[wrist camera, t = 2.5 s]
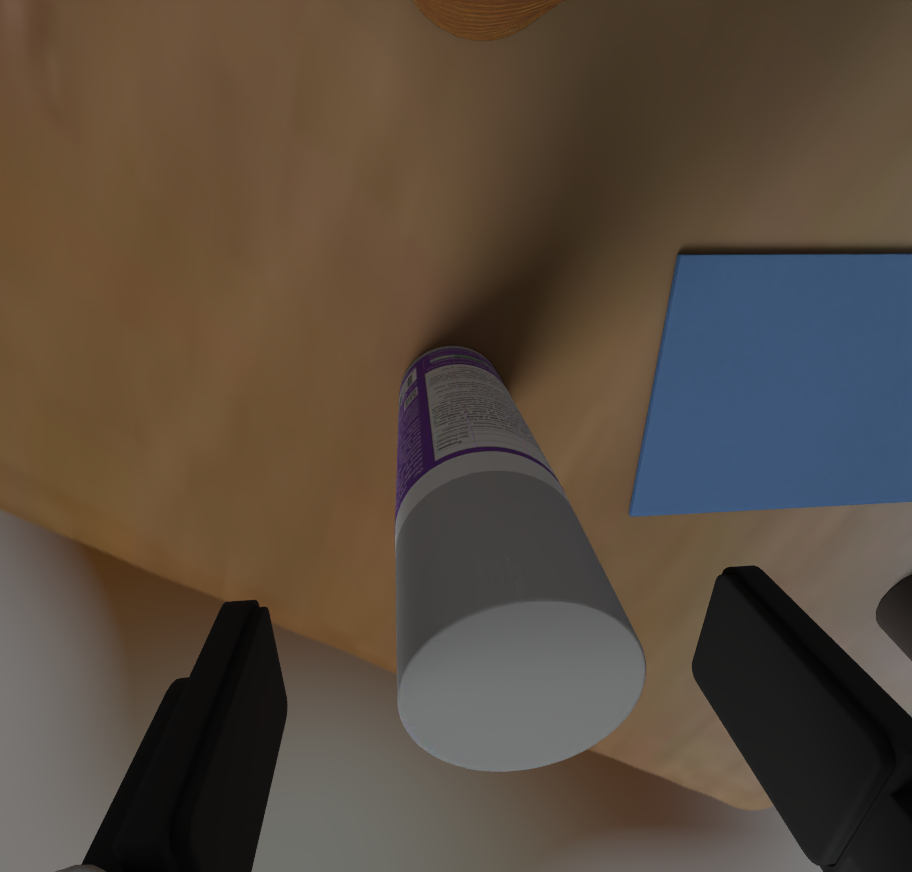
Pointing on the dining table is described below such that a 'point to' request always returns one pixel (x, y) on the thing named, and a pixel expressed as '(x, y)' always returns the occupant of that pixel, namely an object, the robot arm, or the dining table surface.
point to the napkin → (780, 385)
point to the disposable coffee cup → (484, 16)
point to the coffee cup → (898, 615)
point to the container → (497, 584)
